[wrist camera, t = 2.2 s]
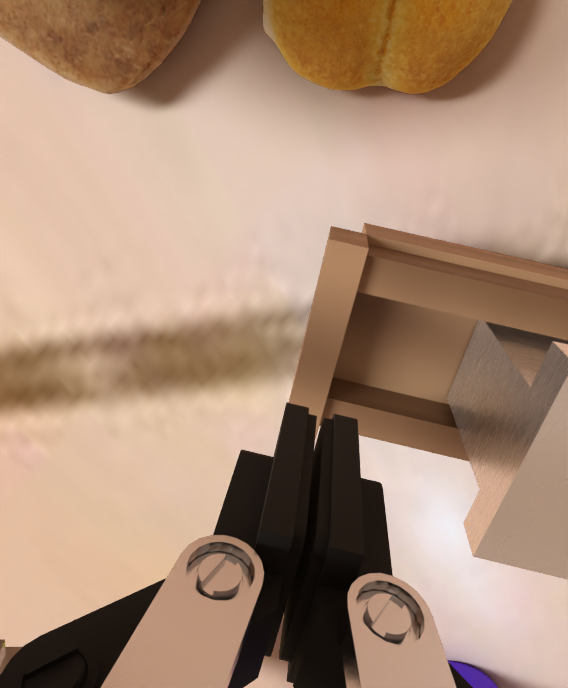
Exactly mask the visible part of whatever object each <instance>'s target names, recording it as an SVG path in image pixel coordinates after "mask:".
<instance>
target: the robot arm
mask: <svg viewBox="0 0 568 688" xmlns="http://www.w3.org/2000/svg"><path fill="white" fill-rule="evenodd" d="M316 421H317V416H315V415H311V414H309V408H308V407H304V406H300V405H296V404H292V403H286V407H285V411H284V415H283V420H282V424H281V428H280V432H279V436H278V441H277V445H276V449H275V453H274V457H271V456H266V455H262V454H258V453H254V452H250V451H245V450H241V452H240V454H239V457H238V460H237V464H236V467H235V470H234V473H233V476H232V479H231V482H230V485H229V488H228V491H227V494H226V497H225V500H224V503H223V507H222V510H221V513H220V516H219V519H218V522H217V525H216V528H215V531H214V534H213V535H210V536H207V537H203V538H199V539H198V540H196V541H194V542H193V543H191V544H189V545H188V546H187V547H186V549H185V550H184V551H183V552H182V553H181V555H180V556H179V558H178V560H177V561H176V563H175V565H174V566H173V568H172V570H171V571H170V573H169V575H168V576H167V578H166V579H164V580H161V581H159V582H157V583H155V584H153V585H150V586H148V587H146V588H144V589H142V590H139V591H137V592H135V593H133V594H131V595H129V596H126V597H124V598H122V599H120V600H118V601H115V602H113V603H111V604H109V605H107V606H105V607H102V608H100V609H98V610H96V611H94V612H91V613H89V614H87V615H85V616H83V617H81V618H78V619H76V620H74V621H72V622H70V623H67V624H65V625H63V626H61V627H59V628H57V629H54V630H52V631H50V632H48V633H46V634H43V635H41V636H39V637H38V638H36V639H34V640H33V641H31V642H30V643H28V644H26V645H25V646H24V647H5V640H0V688H243V687H245V686H246V685H248V684H249V683H251V682H252V681H254V680H255V679H256V678H258V675H259V672H260V668H261V665H262V662H263V658H264V655H265V656H269V657H270V656H271V654H272V651H273V648H274V644H275V641H276V638H277V634H278V631H279V627H280V624H281V621H282V617H283V614H284V619H283V628H282V636H281V644H280V652H279V659H281V660H285V661H289V664H288V673H287V682H291V683H294V684H293V687H294V688H473V687H472V686H471V685H470V684H469V683H468V682H467V681H466V680H465V679H464V678H463V677H462V676H461V675H460V674H459V672H458V671H457V670H456V669H455V668H454V667H453V666H452V665H451V664H450V663H449V662H448V661H447V658H446V655H445V652H444V649H443V646H442V643H441V640H440V637H439V634H438V631H437V628H436V625H435V622H434V619H433V616H432V614H431V612H430V610H429V608H428V606H427V604H426V602H425V601H424V600H423V598H422V597H421V596H420V595H419V593H418V592H417V591H416V590H414V589H413V588H412V587H411V586H409V585H408V584H407V583H406V582H404V581H402V580H400V579H398V578H396V577H394V576H392V567H391V558H390V549H389V540H388V531H387V522H386V513H385V504H384V495H383V488H382V484H381V483H380V482H375V481H371V480H367V479H363V478H361V475H360V455H359V436H358V420H357V419H355V418H351V417H347V416H342V415H338V414H334V415H333V417H332V419H328V418H323V421H322V424H321V428H320V431H319V435H318V438H317V442H316V446H315V449H314V443H315V432H316Z"/></svg>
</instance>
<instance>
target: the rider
mask: <svg viewBox="0 0 568 688" xmlns="http://www.w3.org/2000/svg"><path fill="white" fill-rule="evenodd" d="M447 400H448V402H449V405H450V408H451V411H452V414H453V416H454V419H455V422H456V425H457V427H458V430H459V433H460V436H461V438H462V441H463V444H464V447H465V449H466V452H467V455H468V458H469V461H470V463H471V466H472V469H473V472H474V474H475V477H476V480H477V483H478V485H479V488H480V491H479V493H478V495H477V497H476V499H475V501H474V503H473V505H472V507H471V509H470V511H469V513H468V515H467V517H466V519H465V521H464V527H465V530H466V533H467V537H468V540H469V544H470V547H471V551H472V554H473V557H478V558H482V559H486V560H490V561H494V562H498V563H502V564H506V565H510V566H515V567H519V568H523V569H527V570H531V571H535V572H539V573H543V574H548V575H552V576H556V577H560V578H564V579H568V340H564V339H559V338H555V337H551V336H546V335H542V334H538V333H533V332H529V331H525V330H520V329H516V328H512V327H507V326H503V325H499V324H494V323H490V322H486V321H481V320H479V321H478V323H477V325H476V328H475V330H474V333H473V335H472V338H471V340H470V343H469V345H468V348H467V350H466V352H465V355H464V357H463V360H462V362H461V365H460V367H459V370H458V372H457V375H456V377H455V379H454V382H453V384H452V387H451V389H450V392H449V394H448V397H447Z"/></svg>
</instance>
